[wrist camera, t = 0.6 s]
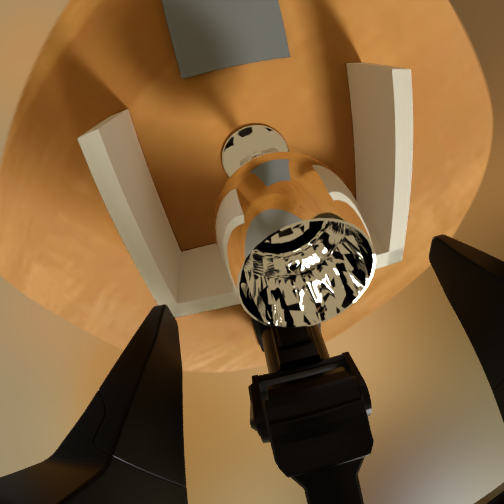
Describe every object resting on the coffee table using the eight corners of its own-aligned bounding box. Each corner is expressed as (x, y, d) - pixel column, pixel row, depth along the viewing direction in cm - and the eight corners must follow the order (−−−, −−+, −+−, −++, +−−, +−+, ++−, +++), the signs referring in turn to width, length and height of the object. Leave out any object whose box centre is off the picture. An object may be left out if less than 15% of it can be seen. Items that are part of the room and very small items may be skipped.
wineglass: (192, 155, 18) (177, 284, 9) (261, 97, 16) (340, 156, 7) (250, 211, 21) (287, 354, 12) (314, 160, 19) (409, 276, 10)
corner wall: (368, 219, 23) (401, 261, 19) (172, 266, 23) (166, 319, 19) (362, 62, 15) (410, 69, 11) (111, 115, 16) (77, 138, 11)
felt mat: (288, 56, 15) (290, 56, 15) (182, 78, 15) (181, 79, 15) (268, -33, 11) (269, -35, 11) (159, -12, 11) (158, -13, 11)
